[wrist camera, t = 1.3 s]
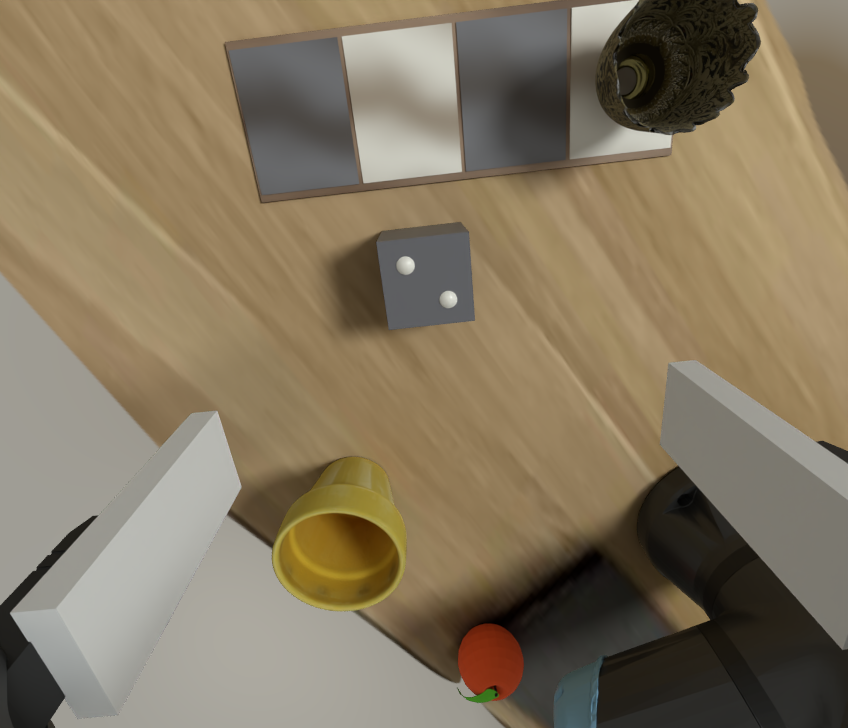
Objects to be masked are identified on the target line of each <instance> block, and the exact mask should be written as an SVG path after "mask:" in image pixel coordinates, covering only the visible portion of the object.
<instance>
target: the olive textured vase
mask: <svg viewBox="0 0 848 728" xmlns="http://www.w3.org/2000/svg"><path fill="white" fill-rule="evenodd" d="M757 13H758V8H757V6H756V5H755V4H754V3H750V4H749V3H748V5H747V3H744V4H739V3H738V2H737V0H639V1H638V2H637V4H636V5H635V6H634V7H633V9H632V10H631V11H630V12H629V13H628V14H627V15H626V16H625V17H624V19H623V20H622V21H621V22H620V23H619V25H618V26H617V27H616V28H615V30H614V31H613V32H612V34H611V35H610V37H609V39H608V40H607V42H606V44H605V46H604V48H603V50H602V52H601V55H600V57H599V61H598V64H597V69H596V76H595V84H596V92H597V97H598V100H599V102H600V105H601V107H602V108H603V110H604V112H605V113H606V114H607V115H608V116H609V117H610V118H611V119H612V120H613V121H615V122H616V123H617V124H619V125H621V126H623V127H626V128H628V129H632V130H636V131H643V132H651V133H659V134H664V135H674V134H675V133H679V132H684V133H685V132H692V131H694V130H695V129H696V126H695V125H701V124H704V123H705V122H708V121H710V120H713V119H715V118H717V117H718V116H719V115H720V112H719V111H722V110H724V109H725V108H727V107H728V106H730V105H731V104H732V103H733V102H734V99H735V98H734V95H733V93H732V92H731V90H732V89H734V88H735V87H737V86H740V85H742V84H744V83H746V82H747V81H748V78H749V75H748V74H747V71H746V70H744V69H745V67H746V65H747V63H748V62H749V61H750V60H751V59H752V58H753V57H754V56H755V54H756V52H757V51H758V49H759V47H760V44H761V41H760V36H759V33H758V32H757V30H756V28H755V27H754V26H753V24H752V22H753V21H754V20H755V19H756V17H757ZM624 67H629V68H632V69H633V70H634V71H635V73H636V77H637V81H636V85H635V87H634V89H633V90H632V91H631V92H630V93H628V94H626V95H621V94H620V88H619V79H618V76H617V71H618V70H620V69H621V68H624ZM743 70H744V71H743Z"/></svg>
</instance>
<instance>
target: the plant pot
mask: <svg viewBox="0 0 848 728" xmlns="http://www.w3.org/2000/svg"><path fill="white" fill-rule="evenodd" d="M272 564H273V568H274V571H275V574H276V576H277V578H278V579H279V581H280V583H281V584H282V585H283V586H284V588H285V589H286V590H287V591H288V592H289V593H291V594H292V595H293V596H294V597H296V598H297V599H299V600H301V601H302V602H305V603H306V604H309V605H311V606H314V607H317V608H320V609H325V610H330V611H353V610H359V609H364V608H367V607H370V606H372V605H375V604H377V603H379V602H380V601H382V600H384V599H385V598H386V597H388V596H389V595H390V594H391V593H392V592H393V591H394V590H395V589H396V587H397V586H398V584H399V583H400V581H401V579H402V576H403V573H404V570H405V564H406V529H405V525H404V521H403V519H402V517H401V515H400V513H399V511H398V510H397V508H396V507H395V506H394V501H393V497H392V492H391V487H390V483H389V479H388V477H387V475H386V473H385V471H384V470H383V469H382V468H381V467H380V466H379V465H377V464H376V463H374V462H372V461H370V460H368V459H365V458H361V457H346V458H342V459H339V460H337V461H335V462H333V463H332V464H330V465H329V466H328V467H327V468H326V469H325V470H324V472H323V473H322V475H321V476H320V478H319V479H318V480H317V482H316V483H315V484H314V486H313V487H312V489H311V490H310V491H309V492H307V493H305V494H304V495H302V496H301V497H300V498H299V499H297V500H296V501H295V502H294V503H293V505H292V506H291V507H290V509H289V510H288V512H287V514H286V516H285V518H284V520H283V522H282V524H281V526H280V529H279V531H278V534H277V536H276V539H275V542H274V545H273V549H272Z"/></svg>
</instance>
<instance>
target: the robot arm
mask: <svg viewBox="0 0 848 728" xmlns="http://www.w3.org/2000/svg"><path fill="white" fill-rule="evenodd" d="M660 445H661V446H662V448H663V449H664V450H665V451H666V452H667V453H668V454H669V455H670V457H671V458H672V459H673V460H674V461H675V462H676V463H677V464H678V466H679V468H677V469H676V470H674V471H673V472H671V473H670V474H669V475H667V476H666V477H665V478H664V479H662V480H661V481H660V482H659V483H658V484H657V485H656V486H655V487H654V488H653V490H652V491H651V492H650V494H649V495H648V496H647V498H646V500H645V501H644V503H643V505H642V507H641V510H640V513H639V516H638V522H637V533H638V538H639V541H640V544H641V546H642V548H643V550H644V551H645V553H646V555H647V556H648V558H649V559H650V561H651V563H652V564H653V566H654V567H655V568H656V569H657V570H658V571H659V572H660V573H661V574H662V575H663V576H664V577H666V578H667V579H668V580H670V581H671V582H672V583H673V584H674V585H676V586H677V587H678V588H679V589H680V590H681V591H682V592H683V593H685V594H686V595H687V596H688V597H689V598H690V599H692V600H693V601H694V602H695V603H696V604H697V605H699V606H700V607H701V608H702V609H703V610H704V611H705V612H706V614H707V615H708V617H709V618H710V621H707V622H704V623H702V624H699V625H695V626H693V627H690V628H688V629H685V630H682V631H679V632H676V633H674V634H671V635H668V636H665V637H662V638H660V639H657V640H654V641H651V642H648V643H645V644H643V645H640V646H637V647H634V648H631V649H629V650H626V651H623V652H620V653H617V654H614V655H612V656H609V657H608V656H607V655H602V656H600V657H599V658H598V659H597V661H596V662H594V663H591V664H589V665H587V666H584V667H582V668H579V669H577V670H575V671H572V672H570V673H568V674H567V675H565V676H564V677H563V678H562V679H561V681H560V682H559V684H558V686H557V689H556V692H555V697H554V728H848V451H846V450H844V449H841V448H839V447H836V446H834V445H832V444H829V443H827V442H824V441H818V442H815V441H814V440H812V439H811V438H809V437H808V436H806V435H805V434H803V433H802V432H800V431H799V430H798V429H796V428H795V427H793V426H792V425H790V424H789V423H787V422H786V421H784V420H783V419H781V418H780V417H778V416H777V415H775V414H774V413H773V412H771V411H770V410H768V409H767V408H765V407H764V406H762V405H761V404H759V403H758V402H756V401H755V400H753V399H752V398H751V397H749V396H748V395H746V394H745V393H743V392H742V391H740V390H739V389H737V388H736V387H734V386H733V385H731V384H730V383H729V382H727V381H726V380H724V379H723V378H721V377H720V376H718V375H717V374H715V373H714V372H712V371H711V370H709V369H708V368H706V367H705V366H704V365H702V364H701V363H699V362H698V361H696V360H691V361H682V362H672V363H669V364H668V373H667V382H666V392H665V401H664V411H663V420H662V430H661V439H660ZM240 489H241V484H240V481H239V478H238V474H237V471H236V468H235V465H234V462H233V459H232V456H231V452H230V449H229V446H228V443H227V440H226V437H225V434H224V430H223V427H222V424H221V421H220V418H219V415H218V412H217V411H208V412H199V413H191V414H190V415H189V416H188V418H187V419H186V420H185V421H184V422H183V423H182V424H181V425H180V426H179V427H178V429H177V430H176V431H175V432H174V433H173V434H172V435H171V436H170V437H169V438H168V440H167V441H166V442H165V443H164V444H163V445H162V446H161V447H160V448H159V449H158V451H157V452H156V453H155V454H154V455H153V456H152V457H151V458H150V459H149V460H148V462H147V463H146V464H145V465H144V466H143V467H142V468H141V469H140V471H139V472H138V473H137V474H136V475H135V476H134V477H133V478H132V479H131V480H130V482H128V484H127V485H126V486H125V487H124V488H123V489H122V490H121V491H120V492H119V494H118V495H117V496H116V497H115V498H114V499H113V500H112V501H111V502H110V503H109V504H108V506H107V507H106V508H105V509H104V510H103V511H102V512H101V513H100V515H98V516H92V517H91V518H89V519H88V520H87V521H85V522H84V523H82V524H81V525H80V526H78V527H77V528H75V529H74V530H72V531H71V532H70V533H69V534H68V535H67V536H66V537H65V538H64V539H63V540H62V541H61V542H60V543H59V544H58V545H57V546H56V547H55V548H54V549H53V550H52V554H51V555H48V556H47V557H46V558H45V559H44V560H43V561H42V562H41V563H40V564H39V565H38V566H37V570H36V571H33V572H32V573H31V574H30V575H29V576H28V577H27V578H26V579H25V580H24V581H23V582H22V583H21V584H20V585H19V586H18V587H17V589H16V590H15V591H14V592H13V593H12V594H11V595H10V596H9V597H8V598H7V599H6V600H5V601H4V602H3V603H2V604H1V605H0V728H55V726H54V724H53V723H52V721H51V720H50V719H51V718H52V716H53V715H54V713H55V712H56V710H57V709H58V707H59V706H60V704H61V703H62V701H63V700H64V699H65V700H66V702H67V703H68V705H69V706H70V708H71V709H72V711H73V713H74V714H75V716H76V717H77V719H81V718H92V717H103V716H115V715H118V714H119V713H120V711H121V709H122V707H123V705H124V703H125V702H126V700H127V698H128V696H129V694H130V692H131V690H132V689H133V687H134V685H135V683H136V681H137V679H138V678H139V676H140V674H141V672H142V670H143V668H144V666H145V665H146V662H147V661H148V659H149V657H150V655H151V654H152V652H153V650H154V648H155V646H156V644H157V642H158V641H159V639H160V637H161V635H162V633H163V631H164V629H165V628H166V626H167V624H168V622H169V620H170V618H171V617H172V614H173V613H174V611H175V609H176V607H177V605H178V604H179V602H180V600H181V598H182V596H183V594H184V592H185V591H186V589H187V587H188V585H189V583H190V581H191V580H192V578H193V576H194V574H195V572H196V570H197V569H198V567H199V565H200V563H201V561H202V559H203V557H204V556H205V554H206V552H207V550H208V548H209V546H210V545H211V543H212V541H213V539H214V537H215V535H216V533H217V532H218V530H219V528H220V526H221V524H222V522H223V520H224V519H225V517H226V515H227V513H228V511H229V509H230V508H231V506H232V504H233V502H234V500H235V498H236V496H237V495H238V493H239V491H240Z"/></svg>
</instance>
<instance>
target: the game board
mask: <svg viewBox="0 0 848 728" xmlns="http://www.w3.org/2000/svg"><path fill="white" fill-rule="evenodd" d="M638 1H639V0H558V1H550V2H542V3H534V4H526V5H518V6H510V7H502V8H494V9H486V10H478V11H470V12H462V13H454V14H446V15H438V16H430V17H422V18H414V19H406V20H398V21H390V22H382V23H374V24H366V25H358V26H350V27H342V28H334V29H326V30H318V31H310V32H302V33H294V34H286V35H278V36H270V37H262V38H254V39H246V40H238V41H230V42H225V45H226V50H227V54H228V58H229V63H230V67H231V71H232V76H233V80H234V84H235V89H236V93H237V97H238V102H239V106H240V110H241V115H242V119H243V123H244V128H245V132H246V136H247V141H248V145H249V149H250V154H251V158H252V162H253V167H254V171H255V175H256V179H257V184H258V188H259V192H260V197H261V201H262V203H263V202H272V201H280V200H289V199H297V198H306V197H315V196H323V195H332V194H340V193H349V192H358V191H366V190H375V189H384V188H392V187H401V186H409V185H418V184H427V183H435V182H444V181H452V180H461V179H470V178H478V177H487V176H495V175H504V174H513V173H521V172H530V171H538V170H547V169H556V168H564V167H573V166H581V165H590V164H599V163H607V162H616V161H624V160H633V159H642V158H650V157H659V156H667V155H671V153H672V142H673V135H664V134H659V133H651V132H643V131H636V130H632V129H628V128H626V127H623V126H621V125H619V124H617V123H616V122H615V121H613V120H612V119H611V118H610V117H609V116H608V115H607V114H606V113H605V112H604V110H603V108H602V107H601V105H600V102H599V100H598V97H597V92H596V84H595V76H596V69H597V64H598V61H599V57H600V55H601V52H602V50H603V48H604V46H605V44H606V42H607V40H608V39H609V37H610V35H611V34H612V32H613V31H614V30H615V28H616V27H617V26H618V25H619V23H620V22H621V21H622V20H623V19H624V17H625V16H626V15H627V14H628V13H629V12H630V11H631V10H632V9H633V7H634V6H635V5H636V4H637V2H638ZM617 76H618V79H619V88H620V94H621V95H626V94H628V93H630V92H631V91H632V90H633V89H634V87H635V85H636V81H637V77H636V73H635V71H634V70H633V69H632V68H629V67H624V68H621V69H620V70H618V71H617Z"/></svg>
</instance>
